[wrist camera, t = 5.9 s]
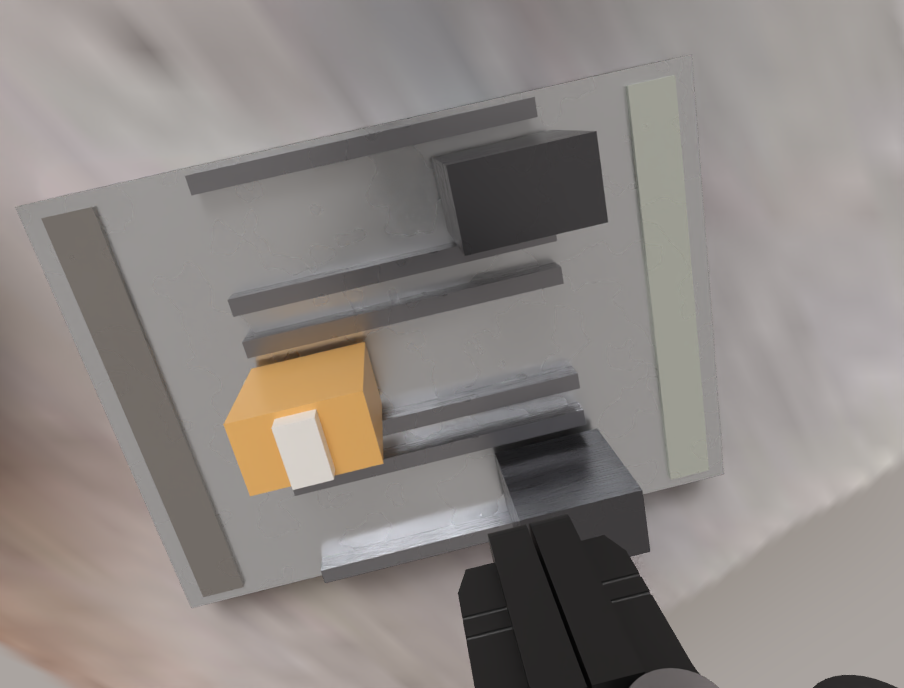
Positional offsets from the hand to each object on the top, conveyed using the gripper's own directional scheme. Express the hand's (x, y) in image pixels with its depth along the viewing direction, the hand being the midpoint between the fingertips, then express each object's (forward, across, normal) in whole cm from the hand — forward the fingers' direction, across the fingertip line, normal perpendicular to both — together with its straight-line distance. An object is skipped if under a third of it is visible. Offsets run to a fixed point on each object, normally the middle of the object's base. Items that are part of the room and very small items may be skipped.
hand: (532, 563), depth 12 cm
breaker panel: (+14, +1, 0) cm, 14 cm away
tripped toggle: (+12, +5, 0) cm, 13 cm away
